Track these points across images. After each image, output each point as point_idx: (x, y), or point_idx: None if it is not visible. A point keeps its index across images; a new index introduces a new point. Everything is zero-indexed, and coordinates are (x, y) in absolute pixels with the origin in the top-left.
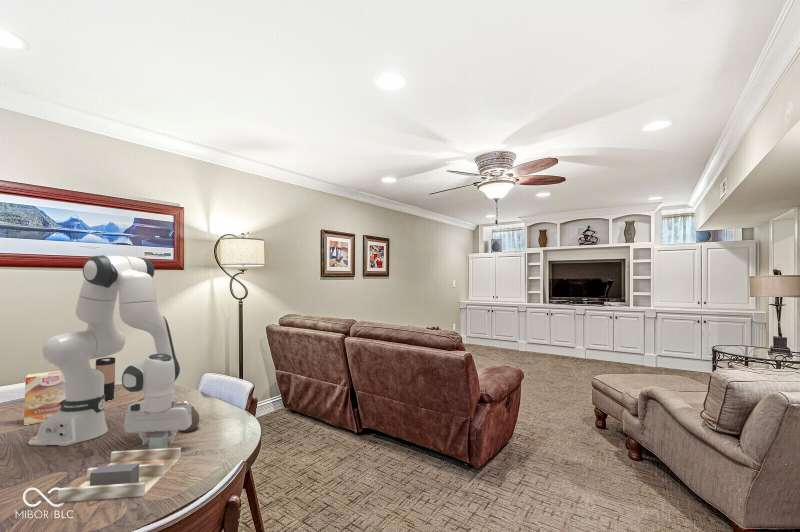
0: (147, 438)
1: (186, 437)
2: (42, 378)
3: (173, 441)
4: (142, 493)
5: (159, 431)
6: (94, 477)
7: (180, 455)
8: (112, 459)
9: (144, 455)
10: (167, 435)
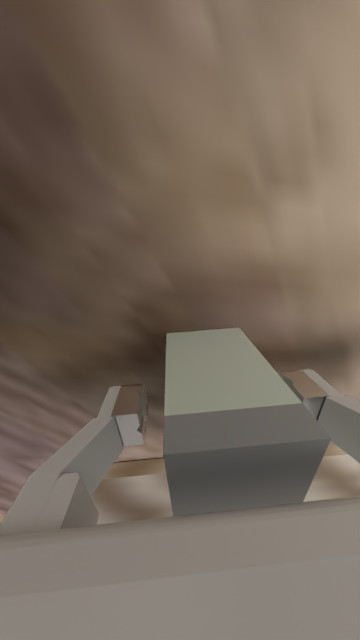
0: (124, 425)
1: (334, 138)
2: None
3: (309, 370)
4: None
5: (242, 479)
6: None
7: (356, 464)
8: None
9: None
10: (282, 383)
